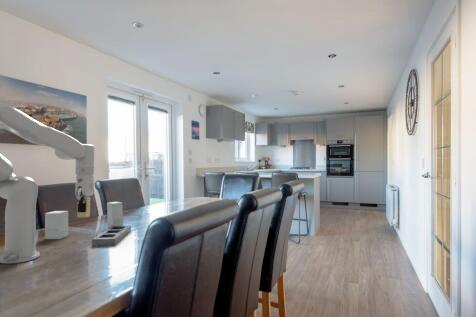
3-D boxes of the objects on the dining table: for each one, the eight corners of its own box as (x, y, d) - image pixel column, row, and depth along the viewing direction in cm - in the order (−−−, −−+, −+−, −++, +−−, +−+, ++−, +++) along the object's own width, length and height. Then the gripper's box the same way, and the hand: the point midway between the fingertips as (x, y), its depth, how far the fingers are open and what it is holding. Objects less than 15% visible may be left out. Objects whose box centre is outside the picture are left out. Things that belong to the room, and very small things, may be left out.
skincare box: (123, 229, 165) (123, 202, 165) (112, 231, 161) (112, 203, 161) (117, 227, 171) (117, 200, 171) (106, 228, 167) (106, 201, 167)
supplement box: (68, 235, 151) (69, 210, 151) (58, 239, 144) (58, 213, 144) (55, 235, 152) (55, 210, 152) (44, 239, 144) (44, 213, 144)
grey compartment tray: (115, 245, 133) (115, 238, 133) (91, 246, 132) (91, 239, 132) (130, 231, 161) (130, 225, 161) (111, 231, 160) (111, 225, 160)
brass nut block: (86, 217, 135) (87, 197, 135) (77, 217, 134) (77, 197, 134) (89, 215, 139) (90, 196, 139) (80, 216, 138) (81, 196, 138)
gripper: (86, 171, 129) (85, 214, 129) (99, 171, 146) (98, 208, 145) (67, 171, 128) (66, 214, 128) (83, 171, 145) (82, 209, 144)
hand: (83, 211), depth 136 cm, fingers closed on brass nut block, 4 cm apart
